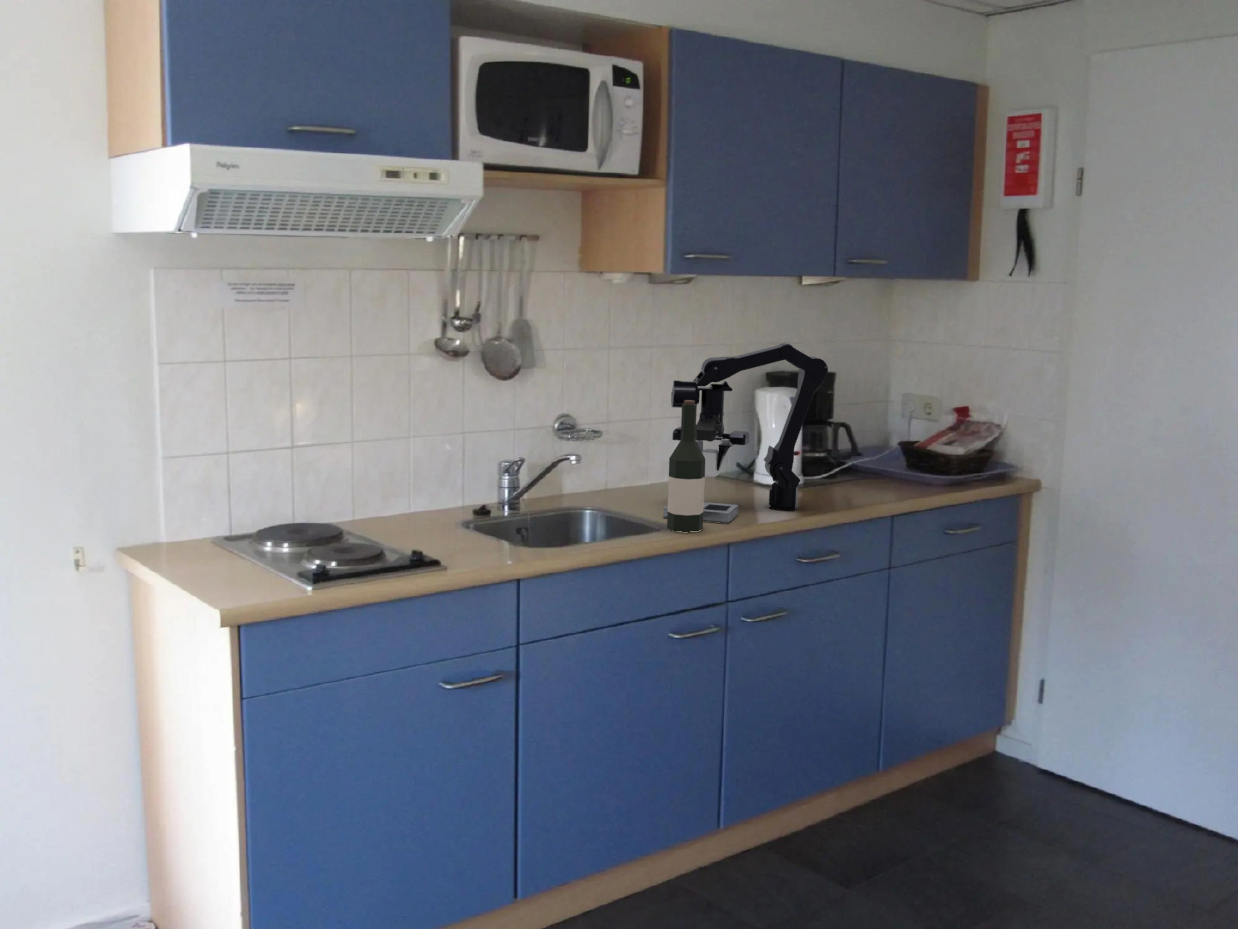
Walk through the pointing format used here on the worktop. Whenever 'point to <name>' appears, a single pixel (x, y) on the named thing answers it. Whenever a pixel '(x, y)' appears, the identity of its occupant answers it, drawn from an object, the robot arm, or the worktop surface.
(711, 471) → the plug
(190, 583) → the worktop surface
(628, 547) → the worktop surface
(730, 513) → the socket plate
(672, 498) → the wine bottle
